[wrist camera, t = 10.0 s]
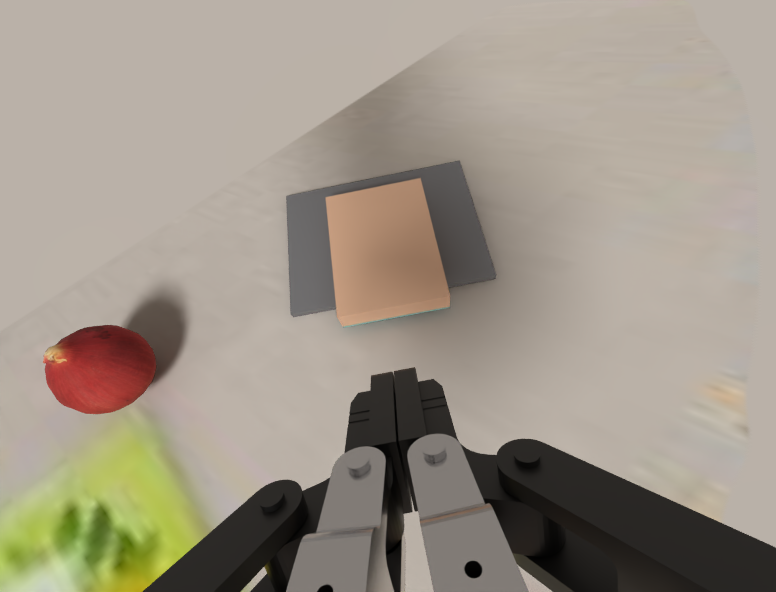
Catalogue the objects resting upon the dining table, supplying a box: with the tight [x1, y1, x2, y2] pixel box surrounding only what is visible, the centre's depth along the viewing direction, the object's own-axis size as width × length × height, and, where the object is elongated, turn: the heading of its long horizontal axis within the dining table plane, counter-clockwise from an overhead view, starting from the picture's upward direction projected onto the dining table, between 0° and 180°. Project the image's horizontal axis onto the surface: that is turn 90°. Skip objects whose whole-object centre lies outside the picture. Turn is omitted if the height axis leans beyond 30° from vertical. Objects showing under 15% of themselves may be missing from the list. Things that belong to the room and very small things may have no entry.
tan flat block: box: [326, 178, 450, 328], centre depth 30 cm, size 8×2×11 cm
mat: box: [286, 161, 496, 317], centre depth 32 cm, size 16×12×1 cm
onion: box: [43, 325, 156, 414], centre depth 26 cm, size 6×6×8 cm
